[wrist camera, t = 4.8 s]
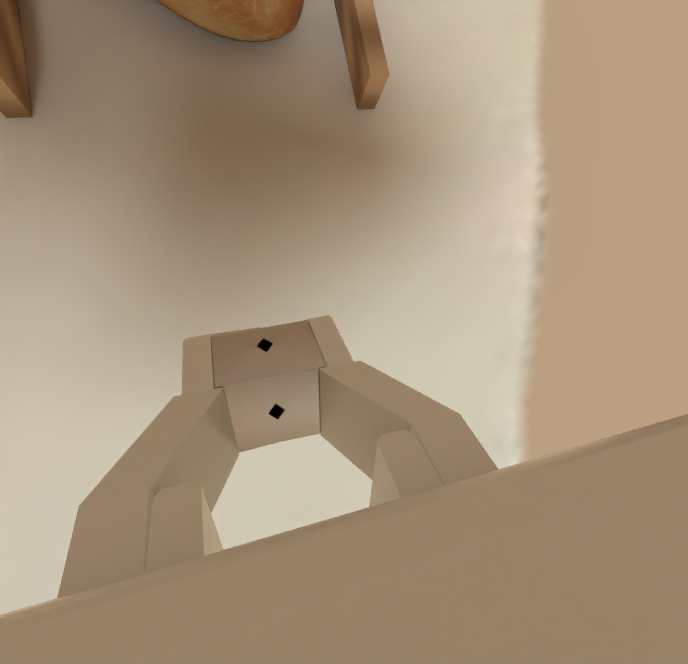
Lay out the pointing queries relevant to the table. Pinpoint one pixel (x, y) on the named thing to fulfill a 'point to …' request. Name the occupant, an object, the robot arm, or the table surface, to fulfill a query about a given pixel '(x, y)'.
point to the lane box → (355, 24)
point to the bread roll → (241, 16)
